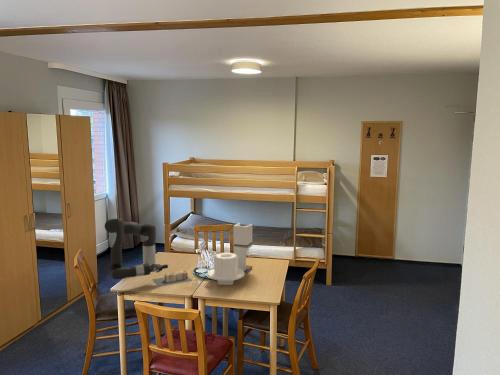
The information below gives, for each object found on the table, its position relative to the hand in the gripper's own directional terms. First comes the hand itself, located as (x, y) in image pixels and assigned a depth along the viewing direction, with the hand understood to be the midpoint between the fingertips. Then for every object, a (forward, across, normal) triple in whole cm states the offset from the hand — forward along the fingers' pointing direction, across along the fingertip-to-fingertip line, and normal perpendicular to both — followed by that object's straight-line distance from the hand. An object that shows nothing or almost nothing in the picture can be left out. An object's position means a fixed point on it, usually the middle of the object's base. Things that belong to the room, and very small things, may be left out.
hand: (167, 266), depth 273 cm
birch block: (-2, 0, +8) cm, 8 cm away
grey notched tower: (+57, -3, +11) cm, 58 cm away
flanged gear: (+35, -20, +11) cm, 42 cm away
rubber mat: (+3, 0, +11) cm, 11 cm away
